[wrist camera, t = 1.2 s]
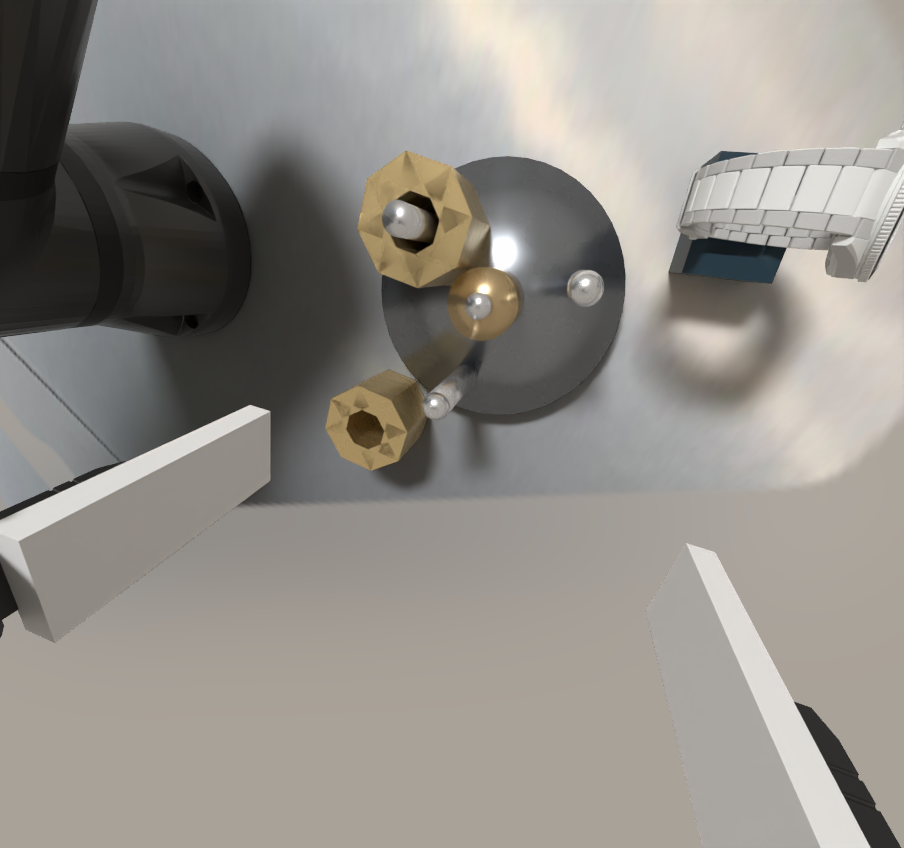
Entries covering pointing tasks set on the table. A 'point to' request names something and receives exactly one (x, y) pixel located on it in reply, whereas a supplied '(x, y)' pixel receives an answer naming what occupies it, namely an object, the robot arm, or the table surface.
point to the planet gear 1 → (426, 190)
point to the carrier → (511, 294)
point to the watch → (792, 210)
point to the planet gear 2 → (377, 419)
